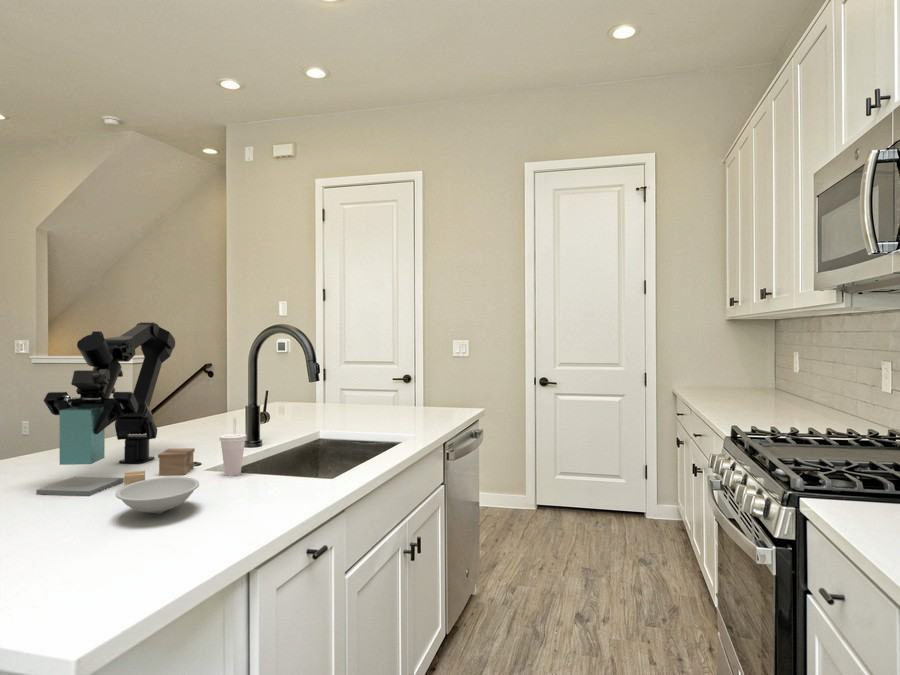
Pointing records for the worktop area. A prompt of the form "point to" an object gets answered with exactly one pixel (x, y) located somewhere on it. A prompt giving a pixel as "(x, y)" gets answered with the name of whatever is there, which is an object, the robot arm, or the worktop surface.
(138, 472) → the block
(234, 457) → the smoothie
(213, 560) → the worktop surface
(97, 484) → the plate
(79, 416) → the tall teal box
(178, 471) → the walnut box
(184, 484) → the dish
